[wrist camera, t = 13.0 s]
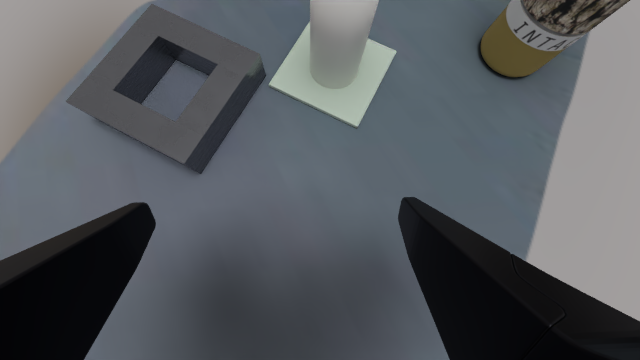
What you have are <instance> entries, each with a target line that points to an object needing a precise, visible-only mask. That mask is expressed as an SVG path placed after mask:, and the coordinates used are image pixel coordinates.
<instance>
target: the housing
mask: <svg viewBox="0 0 640 360" xmlns="http://www.w3.org/2000/svg"><path fill="white" fill-rule="evenodd" d="M176 59H177V60H179V61H181V62H183V63H185V64H187V65H189V66H191V67H193V68H195V69H197V70H199V71H201V72H204V73H206V74H208V75H210V76H209V77H208V78H207V80H206V81H205V83H204V84H203V85H202V87H201V88H200V89H199V91H198V92H197V93H196V95H195V96H194V98H193V99H192V100H191V102H190V103H189V104H188V106H187V107H186V108H185V110H184V111H183V113H182V114H181V115H180V117H179V118H178V119H177V121H176V122H175V121H173V120H171V119H169V118H167V117H165V116H163V115H161V114H159V113H157V112H155V111H153V110H151V109H149V108H147V107H145V106H143V105H141V103H142V102H143V100H144V99H145V98H146V97H147V95H148V94H149V93H150V91H151V90H152V89H153V88H154V86H155V85H156V84H157V83H158V81H159V80H160V79H161V78H162V76H163V75H164V74H165V72H166V71H167V70H168V69H169V67H170V66H171V65H172V64H173V62H174V61H175V60H176ZM265 76H266V74H265V71H264V67H263V64H262V60H261V57H260V54H259V53H256V52H254V51H252V50H250V49H248V48H246V47H244V46H241V45H239V44H237V43H235V42H233V41H231V40H229V39H226V38H224V37H222V36H220V35H218V34H216V33H213V32H211V31H209V30H207V29H205V28H203V27H201V26H198V25H196V24H194V23H192V22H190V21H188V20H186V19H183V18H181V17H179V16H177V15H175V14H173V13H171V12H168V11H166V10H164V9H162V8H160V7H158V6H155V5H153V4H151V5H150V6H149V8H148V9H147V10H146V11H145V12H144V13H143V14H142V15H141V17H140V18H139V19H138V20H137V21H136V22H135V23H134V25H133V26H132V27H131V28H130V29H129V30H128V31H127V33H126V34H125V35H124V36H123V37H122V38H121V39H120V40H119V42H118V43H117V44H116V45H115V46H114V47H113V48H112V50H111V51H110V52H109V53H108V54H107V55H106V56H105V57H104V59H103V60H102V61H101V62H100V63H99V64H98V65H97V67H96V68H95V69H94V70H93V71H92V72H91V73H90V74H89V76H88V77H87V78H86V79H85V80H84V81H83V82H82V84H81V85H80V86H79V87H78V88H77V89H76V90H75V91H74V93H73V94H72V95H71V96H70V97H69V98H68V99H67V101H66V102H67V103H69V104H71V105H73V106H74V107H76V108H78V109H80V110H81V111H83V112H85V113H87V114H89V115H90V116H92V117H94V118H96V119H98V120H100V121H101V122H103V123H105V124H107V125H109V126H111V127H113V128H115V129H117V130H119V131H120V132H122V133H124V134H126V135H128V136H130V137H132V138H134V139H136V140H138V141H139V142H141V143H143V144H145V145H147V146H149V147H151V148H153V149H155V150H157V151H158V152H160V153H162V154H164V155H166V156H168V157H170V158H172V159H174V160H176V161H177V162H179V163H181V164H183V165H185V166H187V167H189V168H191V169H193V170H195V171H196V172H198V173H200V174H201V172H202V171H203V169H204V168H205V166H206V165H207V163H208V162H209V160H210V159H211V157H212V156H213V154H214V153H215V151H216V150H217V148H218V147H219V145H220V144H221V142H222V141H223V139H224V138H225V136H226V135H227V133H228V132H229V130H230V129H231V127H232V126H233V124H234V123H235V121H236V120H237V118H238V117H239V115H240V114H241V112H242V111H243V109H244V108H245V106H246V105H247V103H248V102H249V100H250V99H251V97H252V96H253V94H254V93H255V91H256V90H257V88H258V87H259V85H260V84H261V82H262V81H263V79H264V78H265Z"/></svg>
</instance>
